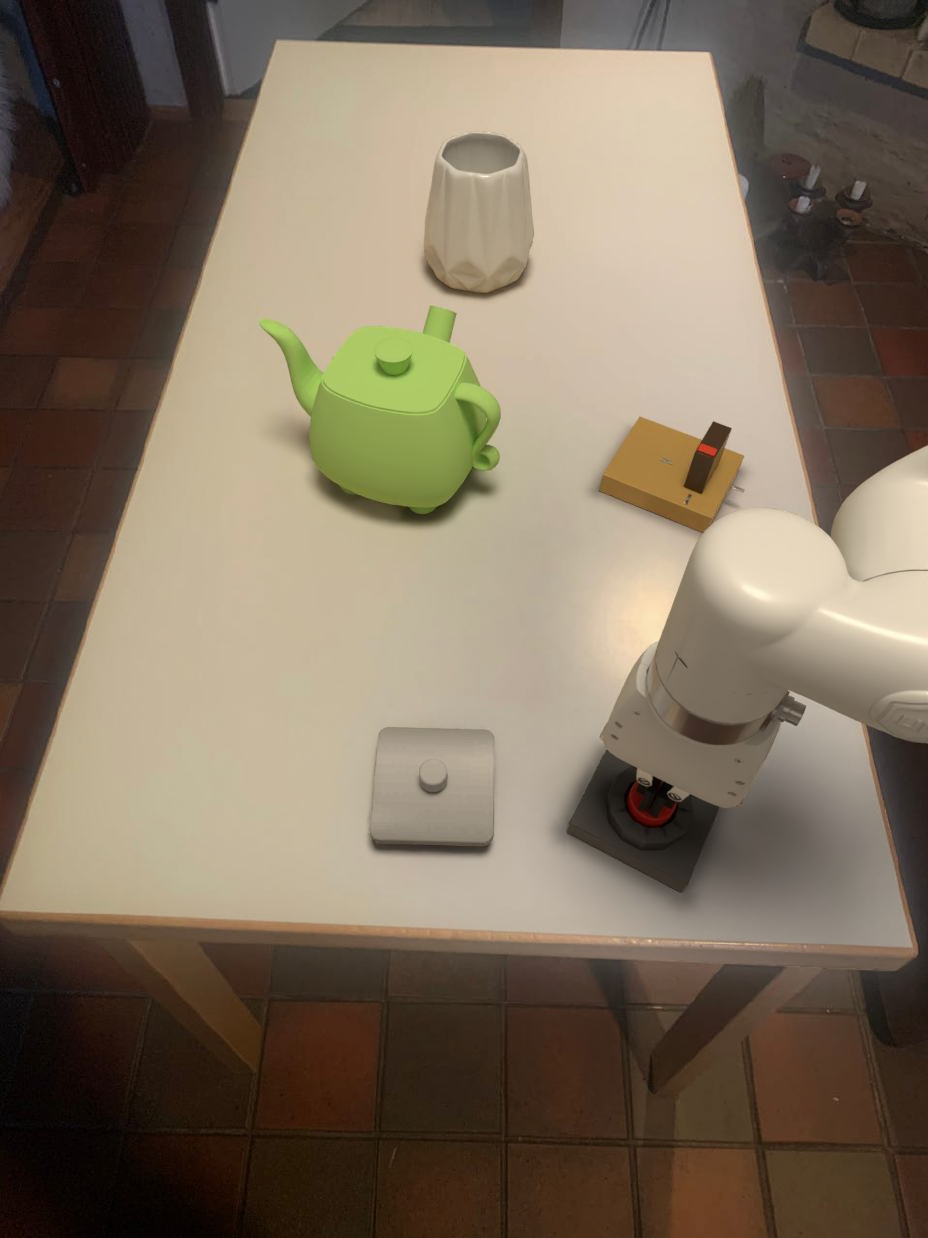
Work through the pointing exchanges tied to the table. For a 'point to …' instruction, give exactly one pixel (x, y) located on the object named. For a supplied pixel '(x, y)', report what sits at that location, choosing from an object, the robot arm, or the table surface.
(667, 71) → the table surface
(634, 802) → the button
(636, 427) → the plate
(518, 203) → the vase
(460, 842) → the light switch
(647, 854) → the button base
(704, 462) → the lock knob
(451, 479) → the teapot
